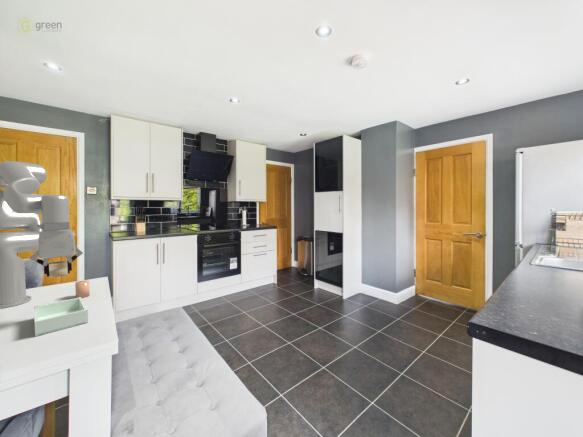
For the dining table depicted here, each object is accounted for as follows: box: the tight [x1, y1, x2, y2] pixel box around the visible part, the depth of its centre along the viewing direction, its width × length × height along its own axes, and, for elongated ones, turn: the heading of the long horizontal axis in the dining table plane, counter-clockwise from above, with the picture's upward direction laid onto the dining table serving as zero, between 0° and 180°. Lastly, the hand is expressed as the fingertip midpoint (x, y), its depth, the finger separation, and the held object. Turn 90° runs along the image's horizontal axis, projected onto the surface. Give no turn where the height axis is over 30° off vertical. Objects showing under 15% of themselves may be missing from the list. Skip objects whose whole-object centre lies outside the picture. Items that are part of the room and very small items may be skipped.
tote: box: [33, 297, 89, 338], centre depth 92 cm, size 18×14×5 cm
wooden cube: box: [48, 260, 69, 279], centre depth 93 cm, size 5×5×5 cm
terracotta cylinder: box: [74, 280, 90, 299], centre depth 116 cm, size 5×5×7 cm
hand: (58, 273), depth 94 cm, fingers closed on wooden cube, 4 cm apart
